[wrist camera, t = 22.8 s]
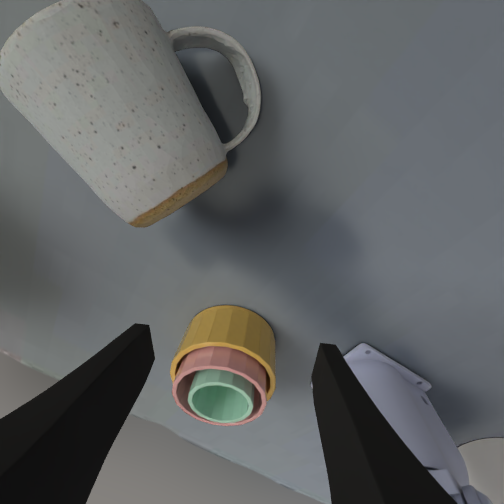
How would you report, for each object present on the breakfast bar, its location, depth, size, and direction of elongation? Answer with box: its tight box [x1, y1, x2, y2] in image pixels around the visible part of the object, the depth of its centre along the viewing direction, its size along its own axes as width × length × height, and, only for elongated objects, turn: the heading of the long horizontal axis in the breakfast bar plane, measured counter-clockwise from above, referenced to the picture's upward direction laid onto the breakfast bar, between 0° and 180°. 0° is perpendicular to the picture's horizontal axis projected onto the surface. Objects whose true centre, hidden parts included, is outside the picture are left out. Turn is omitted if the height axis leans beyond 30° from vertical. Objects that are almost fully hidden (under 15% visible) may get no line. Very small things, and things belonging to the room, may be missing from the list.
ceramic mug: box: [0, 0, 261, 227], centre depth 12 cm, size 11×8×8 cm
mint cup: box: [188, 369, 255, 423], centre depth 21 cm, size 5×5×6 cm
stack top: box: [172, 346, 267, 426], centre depth 22 cm, size 8×8×6 cm
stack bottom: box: [170, 305, 276, 401], centre depth 22 cm, size 9×9×4 cm
